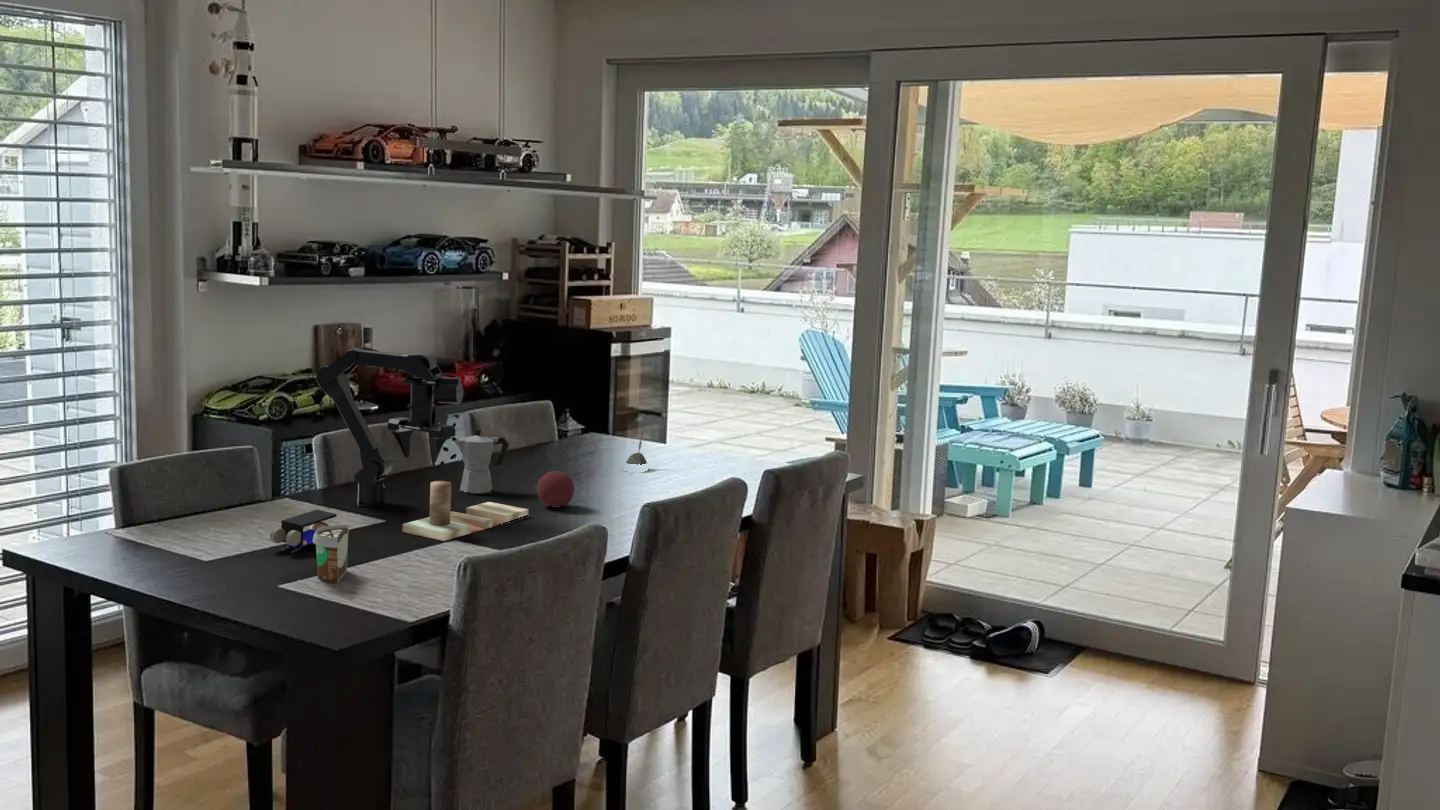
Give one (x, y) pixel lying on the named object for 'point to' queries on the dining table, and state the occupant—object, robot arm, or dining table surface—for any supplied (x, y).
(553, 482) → the decorative ball
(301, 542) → the figurine character
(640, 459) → the sword in stone
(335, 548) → the food container
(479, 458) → the coffeepot
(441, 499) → the walnut cylinder
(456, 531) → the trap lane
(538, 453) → the dining table surface
